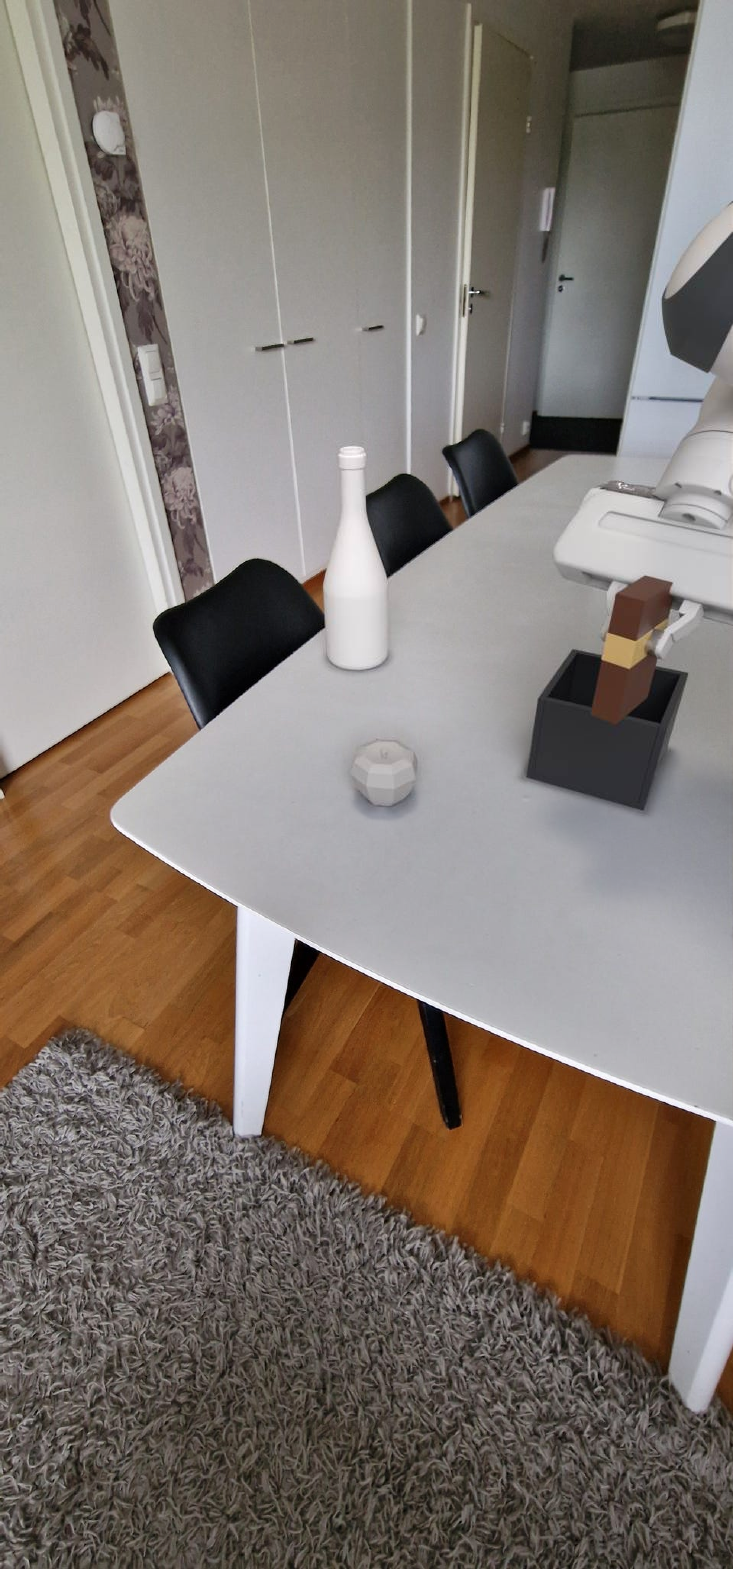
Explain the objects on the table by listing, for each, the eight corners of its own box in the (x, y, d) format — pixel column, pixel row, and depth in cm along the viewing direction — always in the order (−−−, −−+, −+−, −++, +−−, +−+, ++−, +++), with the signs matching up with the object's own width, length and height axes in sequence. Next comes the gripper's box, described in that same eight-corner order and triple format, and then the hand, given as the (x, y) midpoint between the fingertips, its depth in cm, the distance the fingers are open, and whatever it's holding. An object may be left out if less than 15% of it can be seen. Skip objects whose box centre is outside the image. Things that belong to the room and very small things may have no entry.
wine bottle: (392, 646, 112) (393, 441, 94) (382, 674, 105) (381, 458, 87) (334, 642, 114) (324, 440, 96) (320, 670, 106) (307, 456, 88)
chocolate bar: (648, 697, 63) (679, 578, 56) (616, 725, 59) (645, 601, 53) (622, 688, 64) (650, 571, 58) (589, 714, 61) (614, 593, 54)
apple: (427, 812, 79) (429, 764, 75) (359, 824, 77) (358, 776, 73) (406, 771, 85) (407, 725, 81) (343, 782, 83) (341, 736, 80)
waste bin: (666, 749, 88) (688, 672, 81) (643, 810, 78) (667, 728, 72) (559, 723, 93) (572, 648, 87) (526, 777, 84) (537, 698, 77)
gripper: (588, 455, 61) (512, 597, 61) (850, 498, 50) (755, 672, 50) (603, 498, 66) (533, 628, 66) (843, 546, 55) (757, 702, 55)
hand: (630, 647), depth 58 cm, fingers closed on chocolate bar, 2 cm apart
